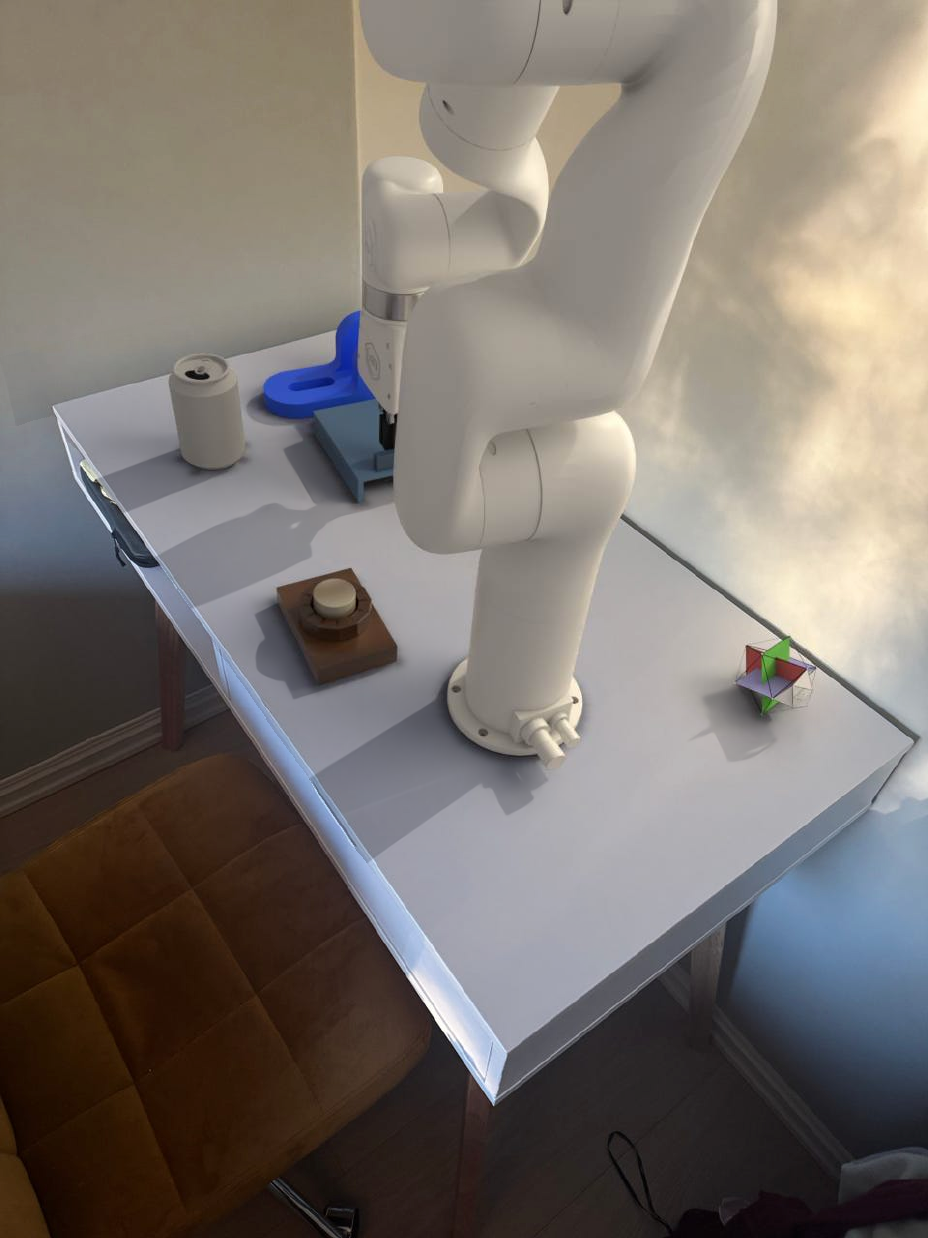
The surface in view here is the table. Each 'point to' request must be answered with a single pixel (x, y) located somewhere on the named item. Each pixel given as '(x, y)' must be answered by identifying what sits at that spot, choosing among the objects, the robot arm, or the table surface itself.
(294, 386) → the bracket
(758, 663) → the geometric puzzle
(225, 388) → the can
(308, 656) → the brown wooden stand
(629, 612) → the table surface
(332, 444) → the cover
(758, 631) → the table surface
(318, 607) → the bell button
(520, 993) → the table surface
